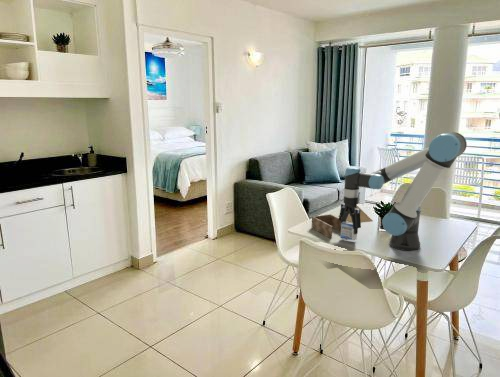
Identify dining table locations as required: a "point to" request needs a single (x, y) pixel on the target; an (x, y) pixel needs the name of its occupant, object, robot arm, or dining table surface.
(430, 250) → the dining table surface
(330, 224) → the open wooden shelf
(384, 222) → the robot arm
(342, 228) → the medicine box
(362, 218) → the model pyramid
